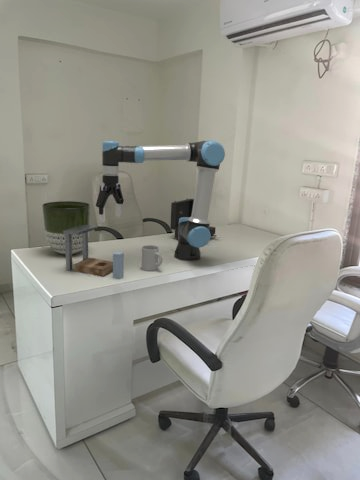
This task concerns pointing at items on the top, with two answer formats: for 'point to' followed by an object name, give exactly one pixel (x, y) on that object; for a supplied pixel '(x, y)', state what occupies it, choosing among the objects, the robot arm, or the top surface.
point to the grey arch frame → (84, 231)
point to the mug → (150, 258)
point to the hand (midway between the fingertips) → (110, 218)
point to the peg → (118, 265)
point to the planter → (64, 223)
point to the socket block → (94, 267)
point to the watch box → (183, 214)
